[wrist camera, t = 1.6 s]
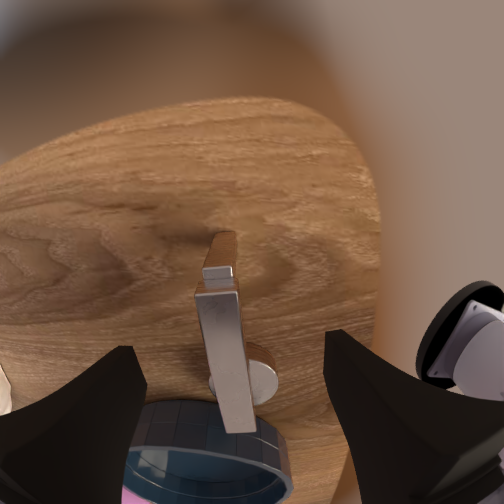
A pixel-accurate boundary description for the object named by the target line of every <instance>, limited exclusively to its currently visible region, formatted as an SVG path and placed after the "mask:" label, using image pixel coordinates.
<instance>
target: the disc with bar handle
mask: <svg viewBox="0 0 504 504" xmlns="http://www.w3.org/2000/svg"><path fill="white" fill-rule="evenodd" d="M236 255H237V239H236V232H235V231H232V232H222V233H216V234H215V237H214V239H213V242H212V244H211V247H210V249H209V252H208V254H207V257H206V260H205V262H204V265H203V267H202V274H203V280H204V281H199V283H198V286H197V289H196V291H195V294H194V298H195V303H196V308H197V313H198V318H199V323H200V328H201V333H202V338H203V342H204V347H205V351H206V356H207V360H208V364H209V368H210V375H209V388H210V390H211V392H212V394H213V395H214V396H215V397H216V398H217V401H218V405H219V408H220V412H221V416H222V419H223V423H224V427H225V430H226V433H247V432H256V430H257V429H256V414H255V406H256V405H259V404H262V403H264V402H266V401H267V400H269V399H270V398H271V397H272V396H273V395H274V394H275V393H276V391H277V389H278V385H279V380H278V374H277V368H276V362H275V359H274V358H273V356H272V355H271V354H270V353H269V352H268V351H267V350H266V349H264V348H262V347H260V346H258V345H255V344H250V343H246V339H245V331H244V323H243V315H242V307H241V299H240V291H239V282H238V279H237V278H235V270H236Z"/></svg>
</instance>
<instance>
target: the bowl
mask: <svg viewBox="0 0 504 504" xmlns="http://www.w3.org/2000/svg"><path fill="white" fill-rule="evenodd" d="M256 429H257V430H256V432H247V433H226V430H225V427H224V423H223V419H222V416H221V412H220V408H219V405H218V404H216V403H211V402H204V401H195V400H166V401H159V402H153V403H149V404H146V405H144V406H143V409H142V412H141V415H140V418H139V421H138V424H137V427H136V430H135V433H134V436H133V439H132V442H131V445H130V448H129V452H128V456H127V460H126V466H125V473H124V480H123V488H124V489H126V490H127V491H129V492H131V493H132V494H134V495H136V496H137V497H139V498H141V499H143V500H146V501H148V502H150V503H153V504H281V503H282V502H283V501H285V500H286V499H287V498H289V497H290V495H291V493H292V491H293V489H294V487H293V480H292V474H291V467H290V460H289V454H288V448H287V444H286V441H285V439H284V438H283V437H282V435H281V434H280V433H279V432H278V431H277V430H276V428H274V427H273V426H271V425H269V424H268V423H266V422H265V421H264V420H262V419H260V418H258V417H256Z"/></svg>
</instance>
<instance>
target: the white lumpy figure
mask: <svg viewBox="0 0 504 504" xmlns="http://www.w3.org/2000/svg"><path fill="white" fill-rule="evenodd" d="M10 391H11V385H10V383H9V381H8V380H7V378H6V376H5V374H4V372H3V370H2V368H1V365H0V416H1V415H3V414H7V413H10V412H11V409H12V401H11V396H10Z"/></svg>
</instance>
